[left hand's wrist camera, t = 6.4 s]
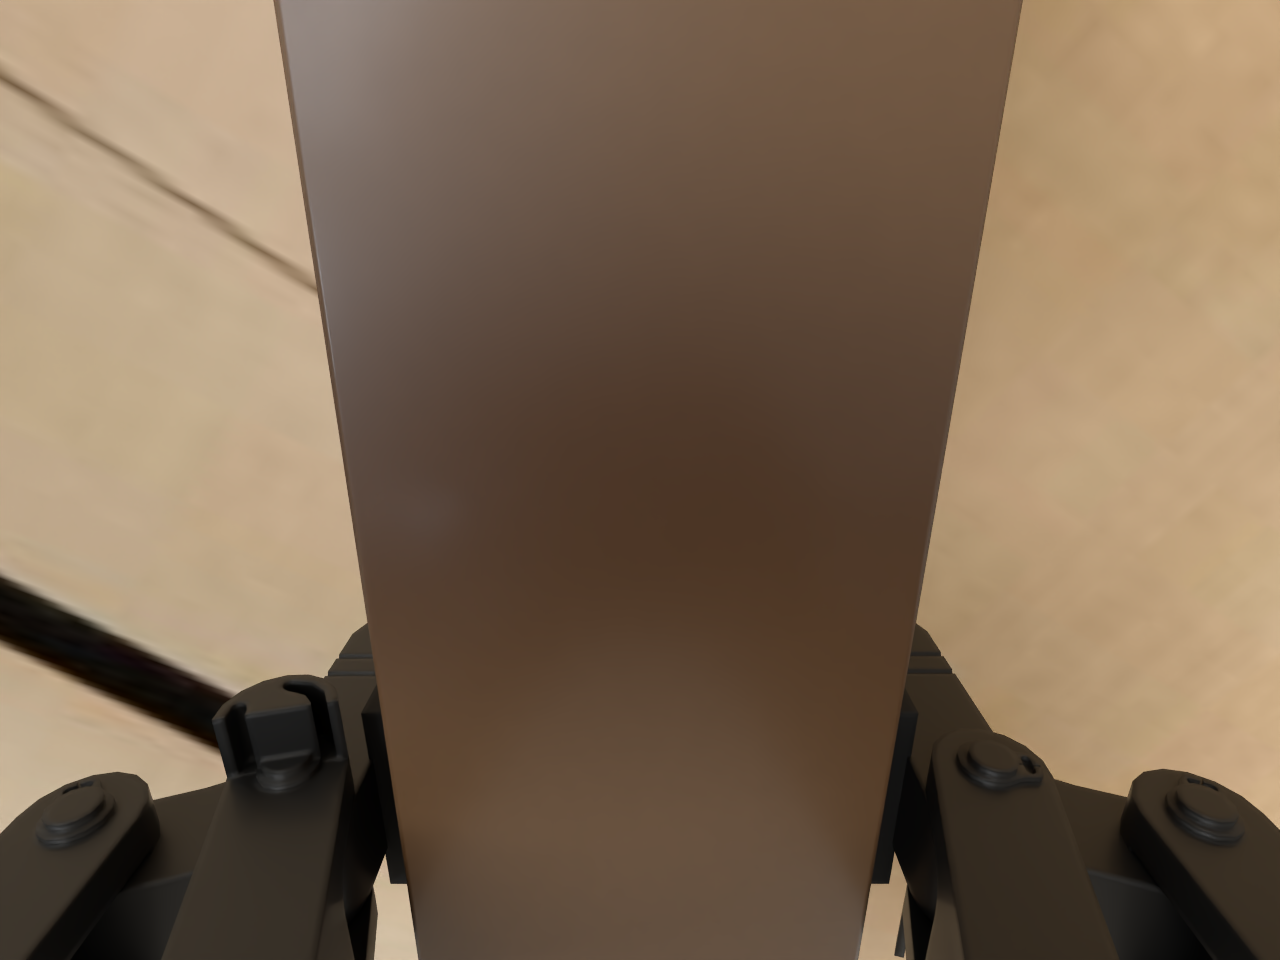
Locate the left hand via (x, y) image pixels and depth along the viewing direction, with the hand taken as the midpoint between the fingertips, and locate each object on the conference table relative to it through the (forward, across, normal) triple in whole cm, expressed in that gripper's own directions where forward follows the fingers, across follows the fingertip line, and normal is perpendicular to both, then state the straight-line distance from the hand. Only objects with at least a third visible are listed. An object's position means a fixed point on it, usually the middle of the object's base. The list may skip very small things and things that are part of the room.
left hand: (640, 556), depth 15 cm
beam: (+1, 0, -24) cm, 24 cm away
